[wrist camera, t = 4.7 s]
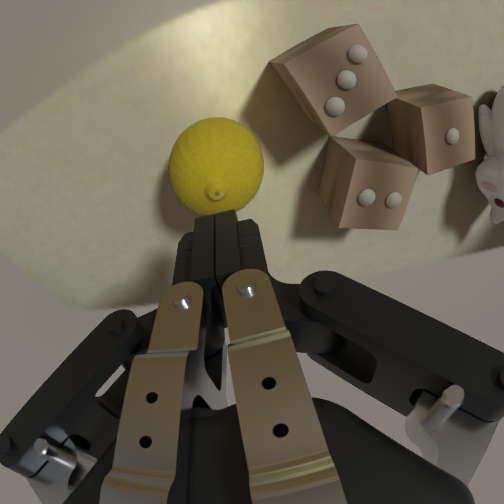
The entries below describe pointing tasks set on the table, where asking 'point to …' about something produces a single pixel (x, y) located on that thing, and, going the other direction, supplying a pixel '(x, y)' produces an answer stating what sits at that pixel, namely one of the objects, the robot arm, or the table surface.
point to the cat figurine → (492, 156)
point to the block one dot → (432, 127)
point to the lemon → (216, 166)
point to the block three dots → (335, 77)
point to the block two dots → (365, 184)
